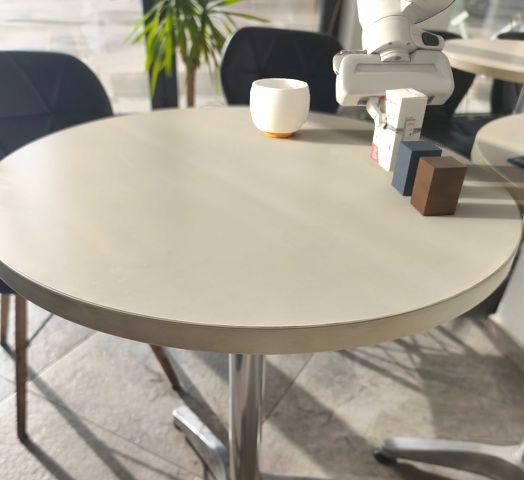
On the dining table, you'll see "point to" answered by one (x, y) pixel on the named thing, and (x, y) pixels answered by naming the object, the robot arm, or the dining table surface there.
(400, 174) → the slate block
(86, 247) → the dining table surface
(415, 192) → the walnut block
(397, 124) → the ink box
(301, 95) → the cup
